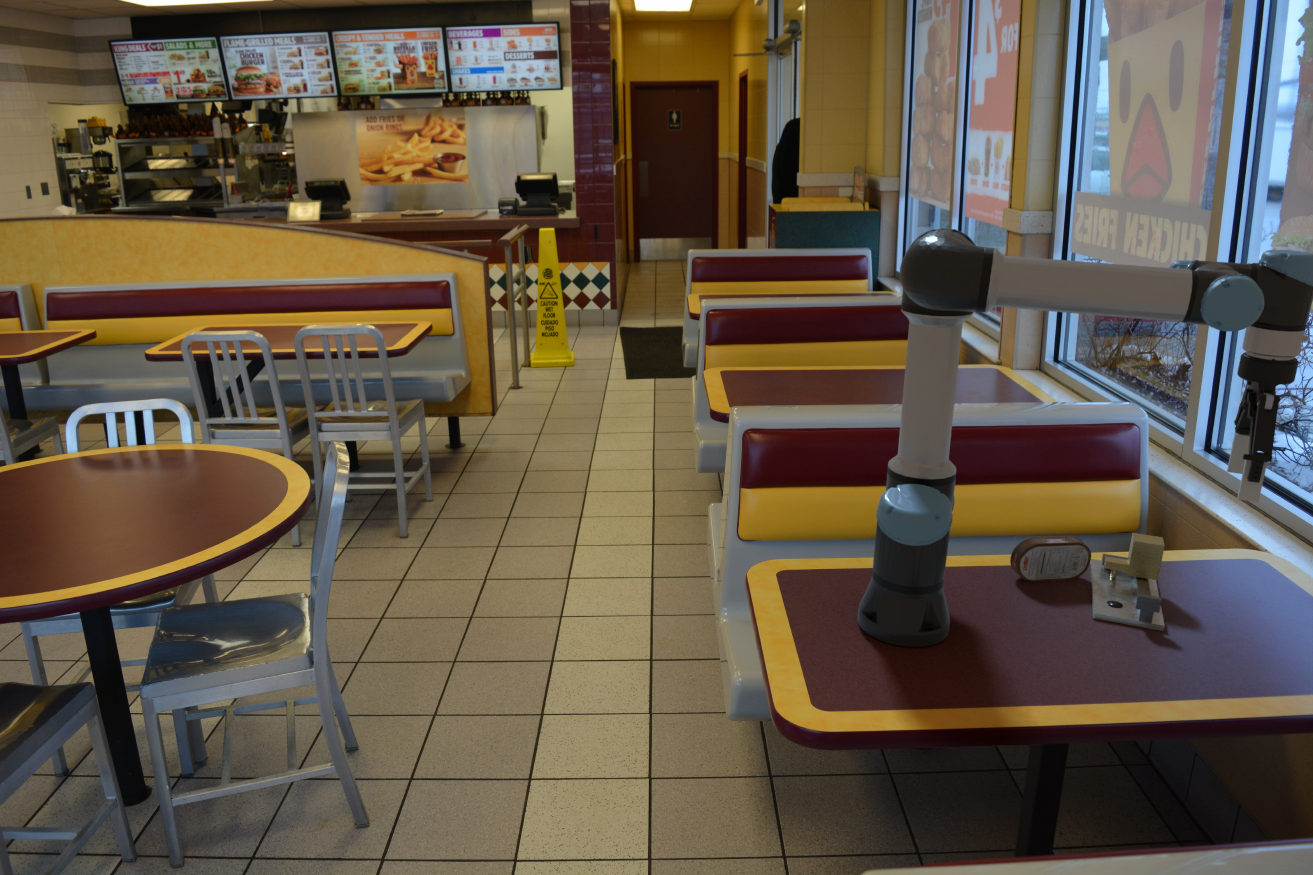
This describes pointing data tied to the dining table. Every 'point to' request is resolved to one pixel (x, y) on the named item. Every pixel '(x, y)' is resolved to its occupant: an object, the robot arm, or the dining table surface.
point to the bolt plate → (1119, 598)
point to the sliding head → (1139, 558)
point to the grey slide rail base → (1142, 596)
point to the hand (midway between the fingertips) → (1241, 486)
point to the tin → (1050, 558)
